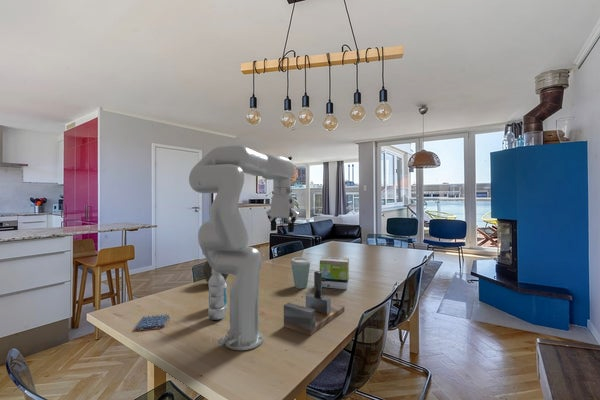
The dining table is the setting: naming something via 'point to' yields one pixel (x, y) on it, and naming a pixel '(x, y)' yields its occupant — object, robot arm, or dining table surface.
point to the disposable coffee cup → (300, 272)
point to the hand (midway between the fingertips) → (282, 231)
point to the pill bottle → (224, 296)
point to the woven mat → (152, 322)
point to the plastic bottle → (216, 296)
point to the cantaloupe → (210, 272)
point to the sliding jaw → (318, 297)
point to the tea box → (335, 272)
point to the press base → (318, 320)
